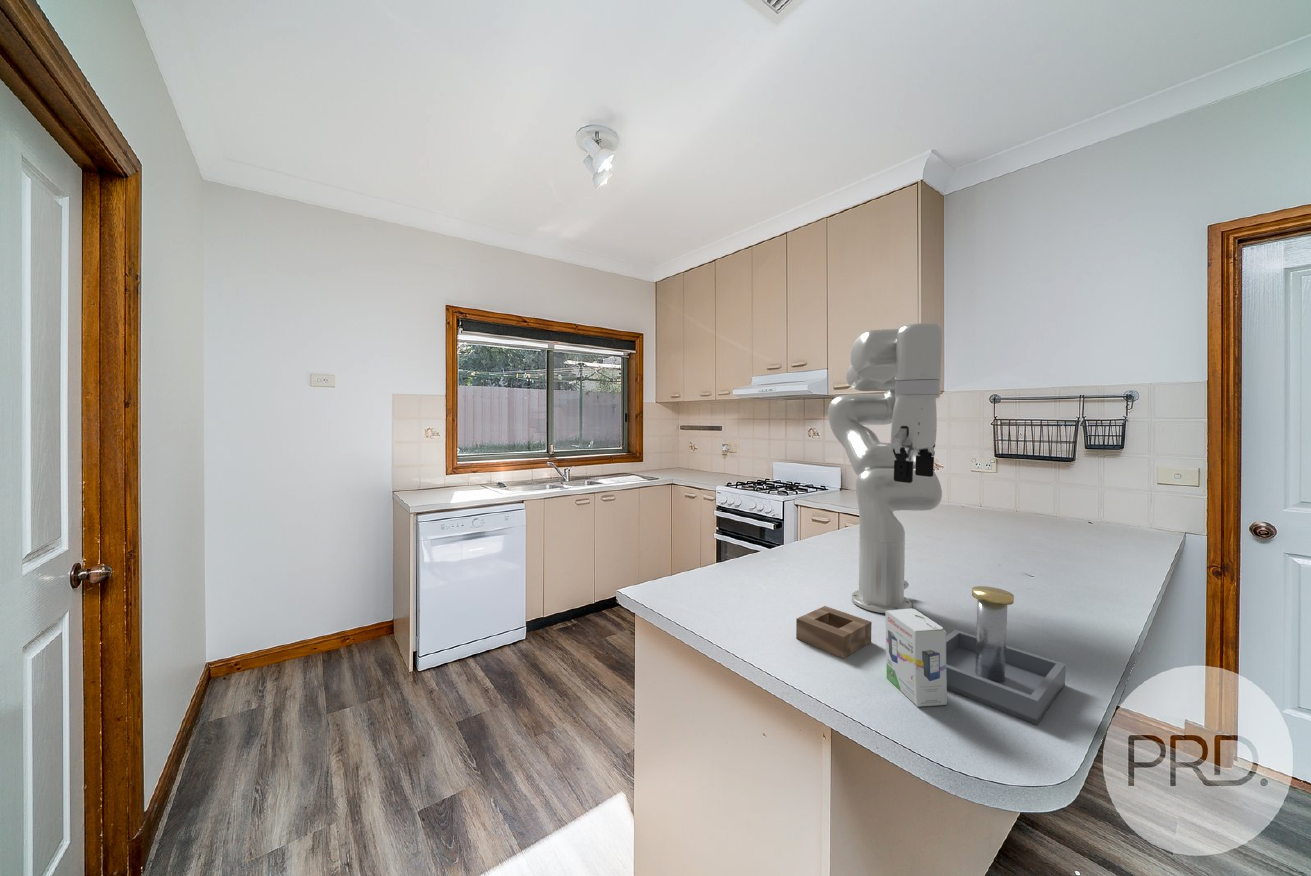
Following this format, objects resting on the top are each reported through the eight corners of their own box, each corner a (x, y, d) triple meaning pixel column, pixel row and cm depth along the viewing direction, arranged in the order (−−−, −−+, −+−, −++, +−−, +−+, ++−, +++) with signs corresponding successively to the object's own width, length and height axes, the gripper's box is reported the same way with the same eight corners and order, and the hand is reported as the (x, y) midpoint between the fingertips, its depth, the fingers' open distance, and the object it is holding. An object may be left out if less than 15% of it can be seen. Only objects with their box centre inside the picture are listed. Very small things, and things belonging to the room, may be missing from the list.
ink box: (948, 706, 71) (949, 629, 71) (915, 708, 71) (916, 631, 70) (912, 675, 80) (913, 606, 79) (883, 677, 79) (884, 607, 79)
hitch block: (824, 624, 99) (824, 605, 99) (871, 642, 92) (871, 621, 91) (796, 638, 93) (796, 618, 93) (843, 658, 85) (843, 636, 85)
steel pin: (976, 663, 82) (979, 583, 81) (1015, 677, 78) (1018, 593, 77) (964, 674, 79) (966, 591, 78) (1004, 689, 74) (1007, 601, 74)
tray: (954, 647, 89) (955, 629, 89) (1064, 685, 77) (1065, 664, 77) (917, 676, 79) (917, 656, 79) (1036, 725, 67) (1037, 701, 67)
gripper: (915, 390, 99) (912, 471, 100) (876, 390, 88) (873, 481, 89) (955, 389, 93) (951, 476, 94) (919, 389, 82) (915, 487, 83)
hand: (913, 478), depth 92 cm, fingers open, 9 cm apart
